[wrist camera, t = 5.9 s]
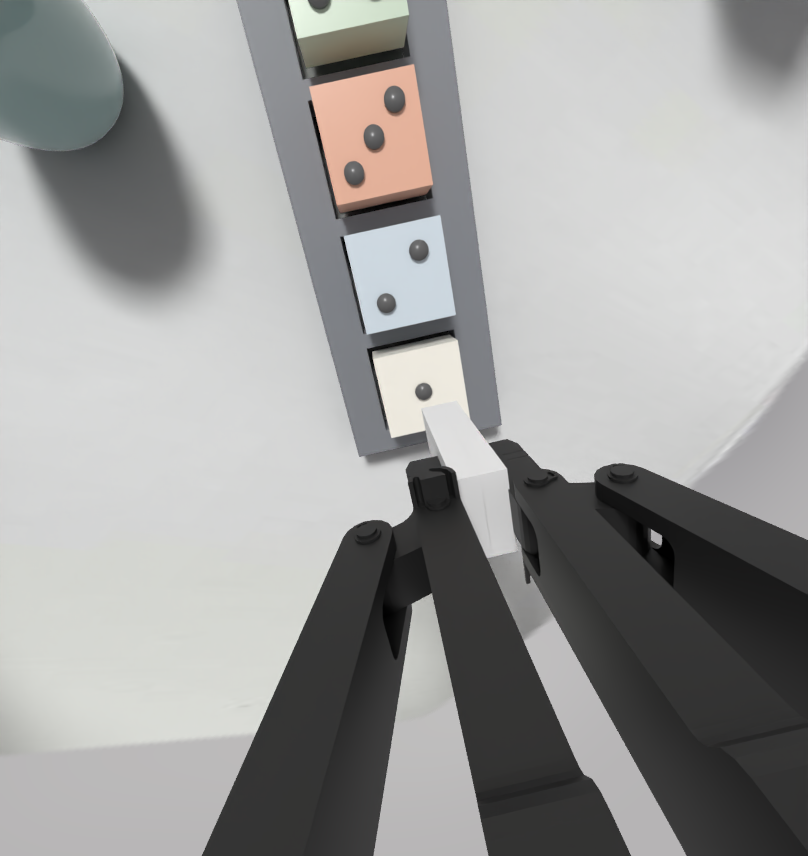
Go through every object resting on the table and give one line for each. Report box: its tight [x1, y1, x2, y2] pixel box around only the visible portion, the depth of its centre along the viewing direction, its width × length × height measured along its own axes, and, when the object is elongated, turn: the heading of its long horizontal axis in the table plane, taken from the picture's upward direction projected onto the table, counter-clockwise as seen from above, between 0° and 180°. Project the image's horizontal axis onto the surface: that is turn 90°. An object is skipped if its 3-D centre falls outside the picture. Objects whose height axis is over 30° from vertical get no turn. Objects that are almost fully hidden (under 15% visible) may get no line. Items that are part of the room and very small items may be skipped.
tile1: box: [372, 335, 470, 438], centre depth 26 cm, size 5×5×3 cm
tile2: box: [344, 215, 456, 335], centre depth 23 cm, size 5×5×3 cm
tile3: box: [309, 64, 433, 213], centre depth 21 cm, size 5×5×3 cm
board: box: [236, 0, 502, 457], centre depth 24 cm, size 10×28×2 cm, turn 12°
